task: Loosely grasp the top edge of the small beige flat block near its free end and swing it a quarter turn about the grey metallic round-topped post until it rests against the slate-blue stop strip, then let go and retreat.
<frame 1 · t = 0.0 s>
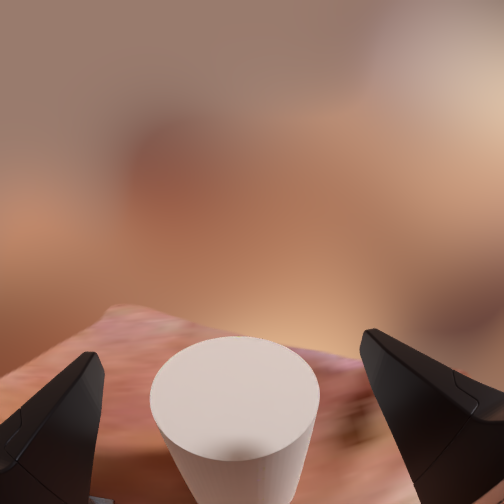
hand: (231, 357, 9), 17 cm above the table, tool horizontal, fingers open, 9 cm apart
off-white flat-topped cylinder: (243, 481, 18), on the table
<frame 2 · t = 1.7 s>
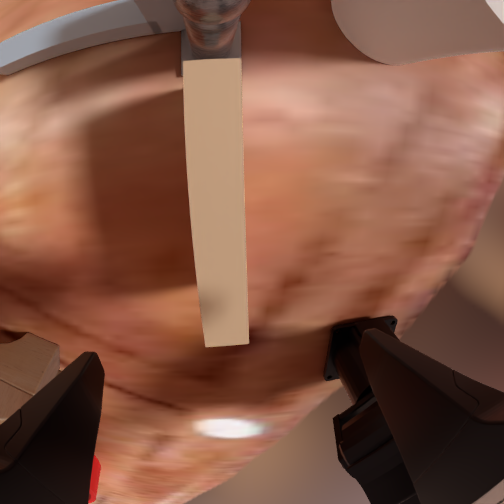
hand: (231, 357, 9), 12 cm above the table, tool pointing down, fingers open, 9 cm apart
wooden toy: (11, 345, 22), on the table
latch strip: (76, 38, 13), on the table
toy clock: (40, 443, 29), on the table
beige flat block: (216, 200, 15), point 4 cm above the table, hinge at 0.0°
off-white flat-topped cylinder: (381, 16, 15), on the table
grey metallic round-topped post: (211, 48, 15), on the table
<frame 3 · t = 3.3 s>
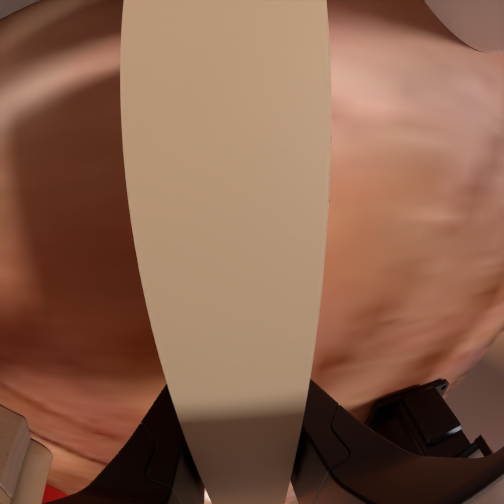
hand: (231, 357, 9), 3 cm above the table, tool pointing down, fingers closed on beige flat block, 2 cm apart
toy clock: (28, 488, 21), on the table
beige flat block: (226, 284, 7), point 4 cm above the table, hinge at 0.0°, touching gripper
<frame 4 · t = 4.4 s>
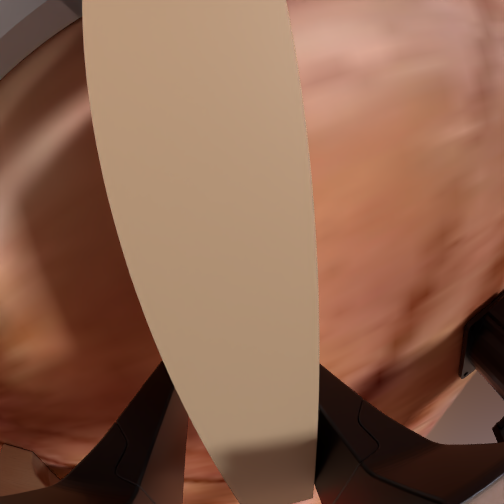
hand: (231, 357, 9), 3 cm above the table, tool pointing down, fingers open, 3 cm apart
wooden toy: (89, 475, 17), on the table
beige flat block: (229, 290, 7), point 4 cm above the table, hinge at -15.8°, touching gripper
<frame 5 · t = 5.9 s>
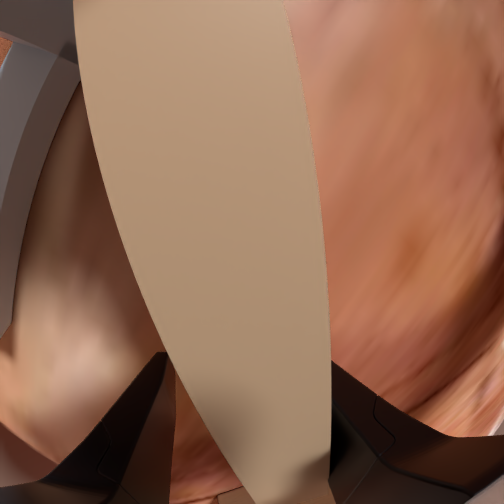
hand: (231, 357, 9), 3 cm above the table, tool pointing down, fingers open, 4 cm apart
wooden toy: (309, 470, 20), on the table
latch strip: (11, 198, 9), on the table
beige flat block: (236, 292, 7), point 4 cm above the table, hinge at -48.9°, touching gripper
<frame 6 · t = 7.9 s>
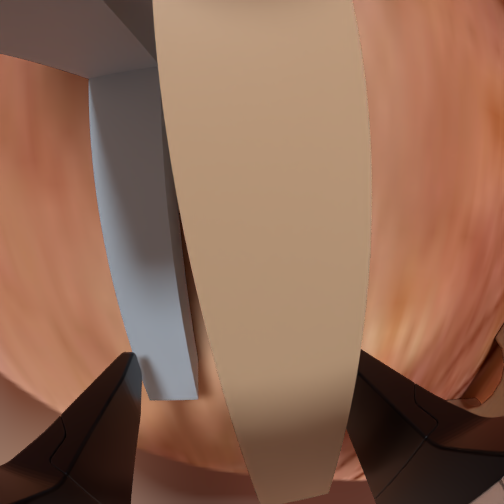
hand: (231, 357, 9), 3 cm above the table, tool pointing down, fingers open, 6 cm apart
wooden toy: (490, 362, 19), on the table
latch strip: (153, 237, 11), on the table
beige flat block: (260, 280, 8), point 4 cm above the table, hinge at -84.4°
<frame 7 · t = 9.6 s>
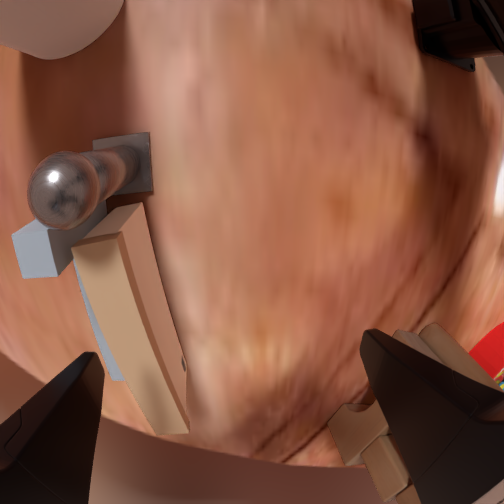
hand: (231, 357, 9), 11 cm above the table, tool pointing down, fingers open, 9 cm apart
wooden toy: (384, 376, 28), on the table
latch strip: (110, 297, 20), on the table
toy clock: (479, 371, 34), on the table
beige flat block: (145, 325, 17), point 4 cm above the table, hinge at -84.4°
off-white flat-topped cylinder: (70, 7, 12), on the table
grey metallic round-topped post: (122, 164, 17), on the table
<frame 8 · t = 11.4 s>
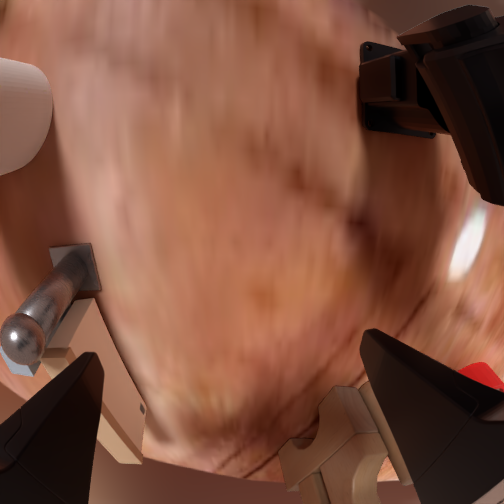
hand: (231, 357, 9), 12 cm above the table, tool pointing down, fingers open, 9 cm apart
wooden toy: (329, 418, 31), on the table
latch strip: (82, 358, 23), on the table
toy clock: (442, 406, 37), on the table
beige flat block: (104, 390, 20), point 4 cm above the table, hinge at -84.4°
off-white flat-topped cylinder: (11, 117, 15), on the table
grey metallic round-topped post: (75, 267, 20), on the table
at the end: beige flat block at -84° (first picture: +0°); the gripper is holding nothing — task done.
